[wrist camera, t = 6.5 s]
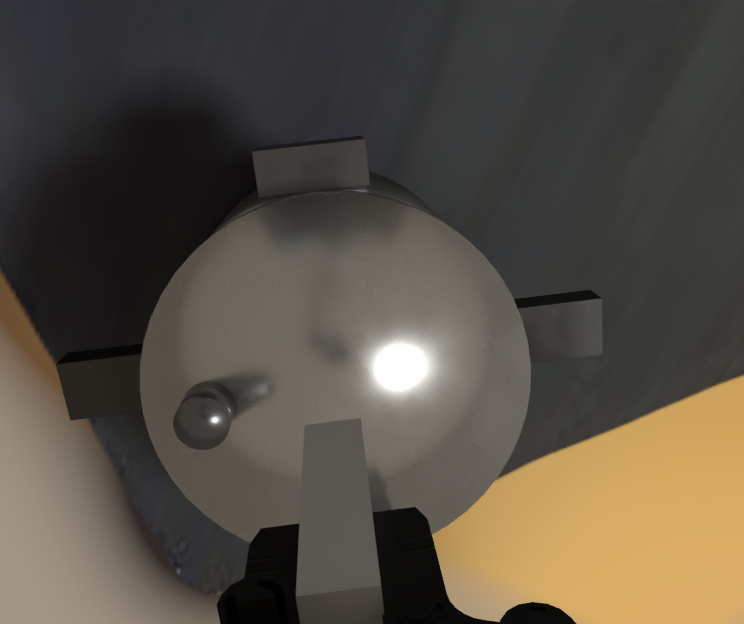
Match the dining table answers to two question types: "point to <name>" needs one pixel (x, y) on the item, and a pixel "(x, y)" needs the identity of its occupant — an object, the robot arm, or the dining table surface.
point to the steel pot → (305, 175)
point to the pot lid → (334, 359)
